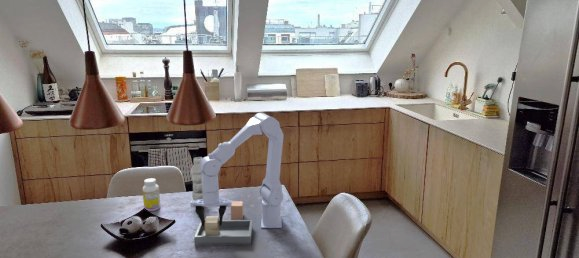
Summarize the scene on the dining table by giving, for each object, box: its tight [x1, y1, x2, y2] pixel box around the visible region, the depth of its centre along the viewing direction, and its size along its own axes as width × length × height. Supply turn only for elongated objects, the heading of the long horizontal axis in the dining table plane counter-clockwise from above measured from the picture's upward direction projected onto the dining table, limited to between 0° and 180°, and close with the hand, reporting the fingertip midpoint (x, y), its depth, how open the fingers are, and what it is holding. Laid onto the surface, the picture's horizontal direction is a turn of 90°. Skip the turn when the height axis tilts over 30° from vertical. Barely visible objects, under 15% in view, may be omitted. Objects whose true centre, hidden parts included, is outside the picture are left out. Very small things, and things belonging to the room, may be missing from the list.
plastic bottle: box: [190, 156, 203, 200], centre depth 178 cm, size 6×7×20 cm
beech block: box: [205, 215, 219, 236], centre depth 148 cm, size 4×4×6 cm
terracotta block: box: [230, 200, 244, 220], centre depth 164 cm, size 4×4×6 cm
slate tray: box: [193, 219, 254, 247], centre depth 149 cm, size 13×20×4 cm, turn 92°
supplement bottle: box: [142, 177, 161, 212], centre depth 171 cm, size 7×7×13 cm
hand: (212, 224), depth 148 cm, fingers open, 6 cm apart
